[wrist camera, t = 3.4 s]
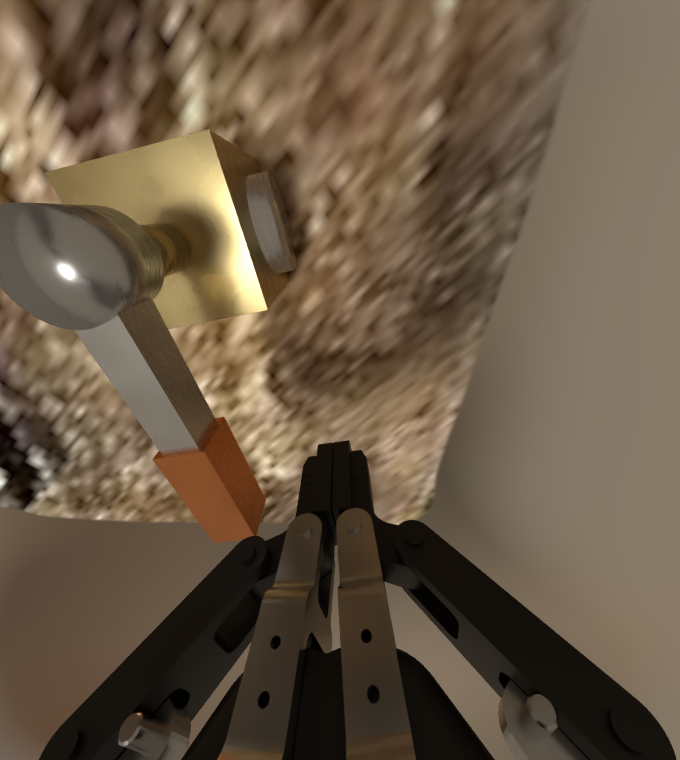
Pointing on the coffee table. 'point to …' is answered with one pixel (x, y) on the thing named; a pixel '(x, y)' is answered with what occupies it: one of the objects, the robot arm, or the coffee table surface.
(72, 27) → the coffee table surface
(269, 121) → the coffee table surface
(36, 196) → the coffee table surface
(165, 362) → the valve lever
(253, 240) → the valve housing
